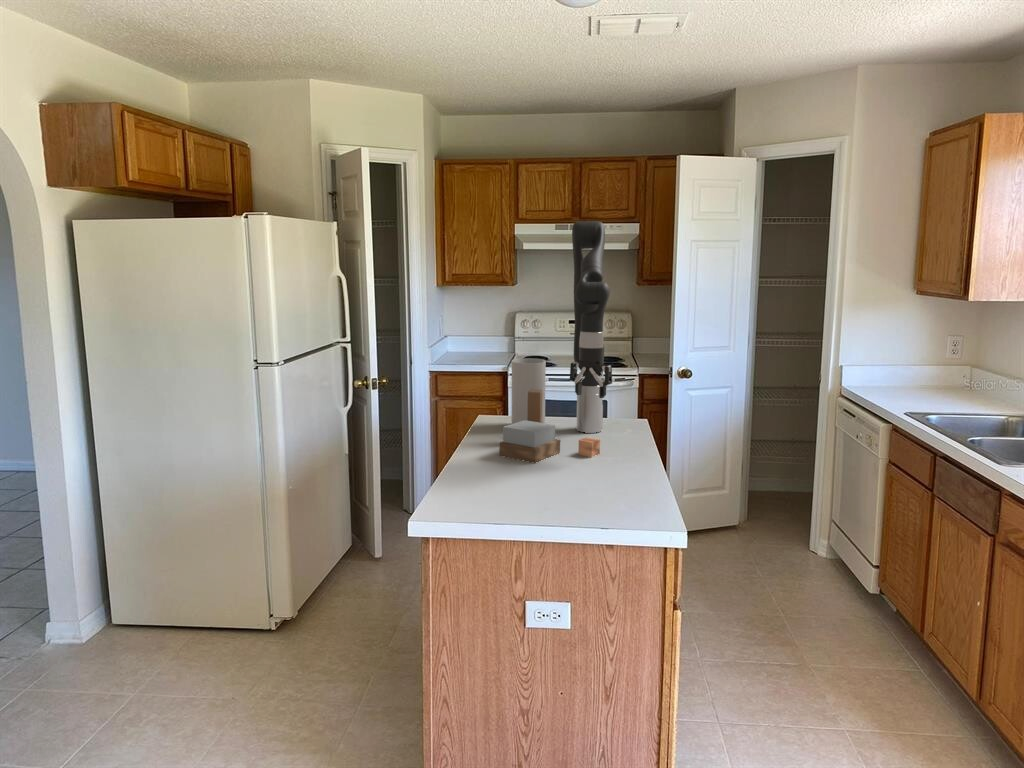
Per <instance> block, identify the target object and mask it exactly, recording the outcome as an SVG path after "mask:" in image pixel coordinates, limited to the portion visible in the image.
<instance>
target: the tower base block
mask: <svg viewBox="0 0 1024 768" xmlns="http://www.w3.org/2000/svg"><path fill="white" fill-rule="evenodd" d="M498 443H499V447H498V448H499V455H498V456H499V457H502V456H505V457H504V458H507V457H509V459H512V458H514V459H513V460H517V459H519V460H518V461H522V460H524V461H523V462H526V461H529V462H528V463H531V462H534V463H533V464H537V463H536V462H538V463H540V462H542V461H541V460H543V461H544V459H545V460H547V459H546V458H548V459H549V457H550V458H552V457H551V456H553V457H555V456H558V455H560V454H559V453H561V440H560V439H557V438H555V440H554V441H551V442H549V443H546V444H543V445H541V446H538V447H535V448H533V447H527V446H522V445H516V444H511V443H506V442H503V440H502V441H500V442H498ZM557 454H558V455H557ZM554 455H555V456H554ZM539 461H540V462H539Z"/></svg>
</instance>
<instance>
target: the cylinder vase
mask: <svg viewBox="0 0 1024 768" xmlns="http://www.w3.org/2000/svg"><path fill="white" fill-rule="evenodd" d="M546 363H547V360H546V359H541V358H527V357H526V358H516V359H512V360H511V424H514V423H517V422H520V421H523V420H527V418H528V391H529V390H542V420H543V423H545V424H546V375H547V374H546V371H547V370H546Z"/></svg>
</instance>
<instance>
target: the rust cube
mask: <svg viewBox="0 0 1024 768" xmlns="http://www.w3.org/2000/svg"><path fill="white" fill-rule="evenodd" d="M577 454H579V455H578V456H581V455H584V456H583V457H587V456H589V457H588V458H594V457H596V456H595V455H597V456H599V455H600V454H601V439H600V438H595V437H590V436H586V437H584V438H581V439H578V453H577ZM598 454H599V455H598ZM593 456H594V457H593Z"/></svg>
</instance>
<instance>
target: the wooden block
mask: <svg viewBox="0 0 1024 768" xmlns="http://www.w3.org/2000/svg"><path fill="white" fill-rule="evenodd" d="M527 421H533V422H539V423H543V420H542V390H529V391H528V418H527Z"/></svg>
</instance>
